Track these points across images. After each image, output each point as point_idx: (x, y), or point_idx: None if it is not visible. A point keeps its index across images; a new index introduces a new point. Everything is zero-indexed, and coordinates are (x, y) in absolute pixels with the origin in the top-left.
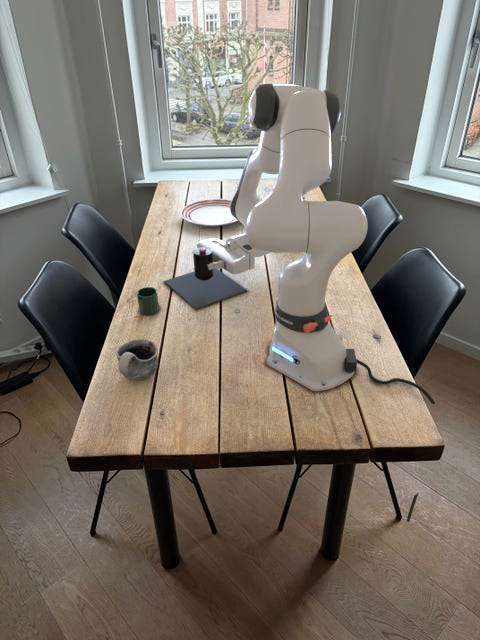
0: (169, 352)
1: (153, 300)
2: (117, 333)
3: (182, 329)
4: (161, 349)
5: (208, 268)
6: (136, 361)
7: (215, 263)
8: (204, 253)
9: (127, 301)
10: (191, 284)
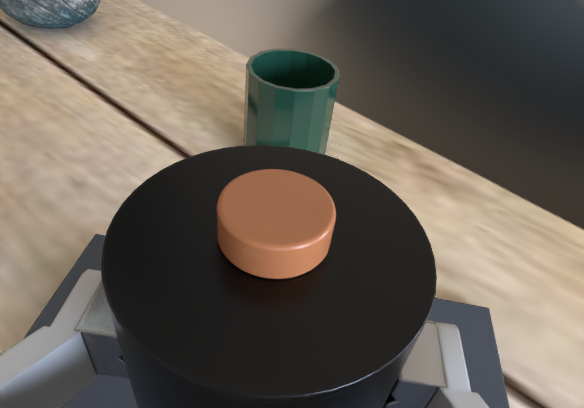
0: (30, 71)
1: (245, 88)
2: (245, 63)
3: (64, 138)
4: (65, 70)
5: None
6: None
7: (24, 342)
8: (191, 206)
9: (401, 144)
10: None
